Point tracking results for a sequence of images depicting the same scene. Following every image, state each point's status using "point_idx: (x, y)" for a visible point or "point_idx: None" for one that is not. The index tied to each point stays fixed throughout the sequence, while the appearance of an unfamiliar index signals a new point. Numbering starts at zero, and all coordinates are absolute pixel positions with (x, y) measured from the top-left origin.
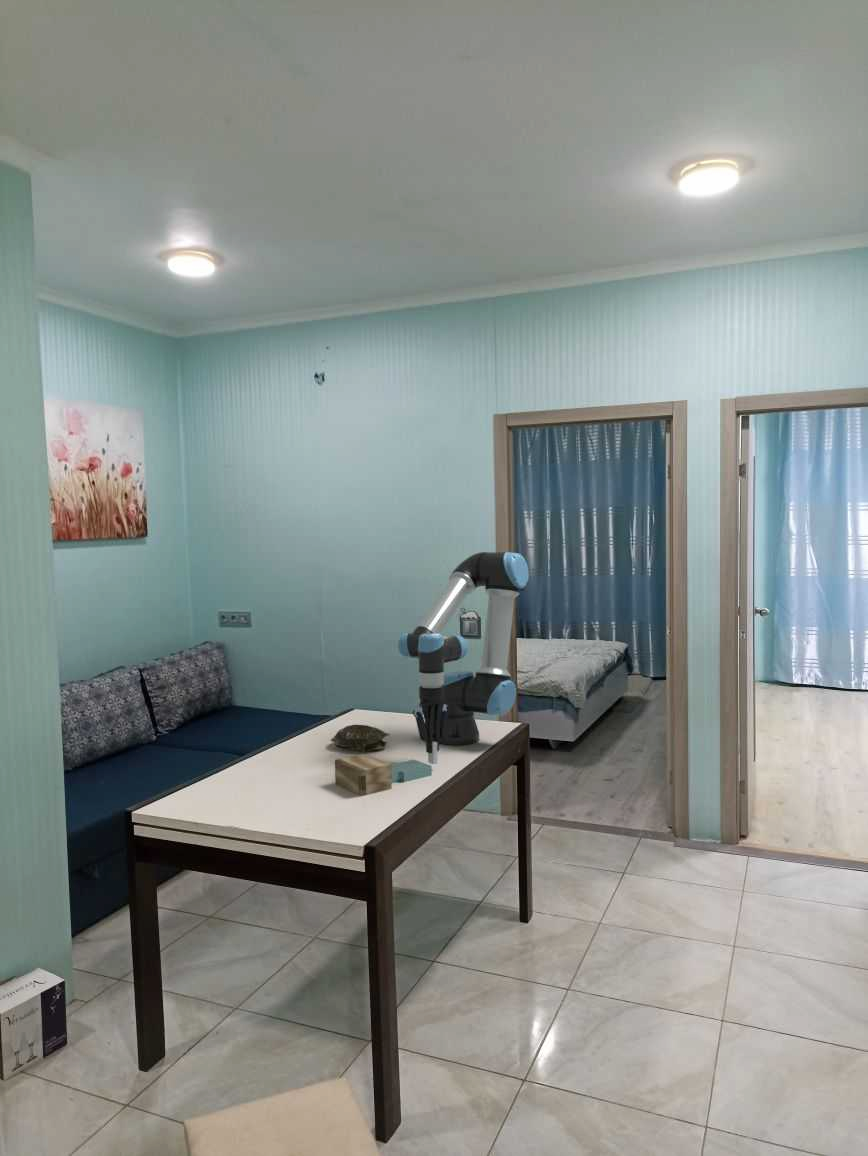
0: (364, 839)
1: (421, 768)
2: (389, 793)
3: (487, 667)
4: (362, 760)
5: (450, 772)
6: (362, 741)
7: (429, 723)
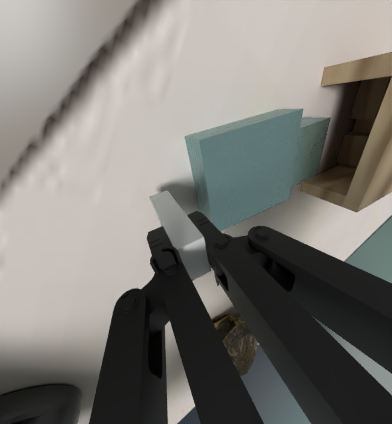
0: None
1: (241, 127)
2: (353, 20)
3: None
4: None
5: (102, 138)
6: (246, 328)
7: (373, 380)
